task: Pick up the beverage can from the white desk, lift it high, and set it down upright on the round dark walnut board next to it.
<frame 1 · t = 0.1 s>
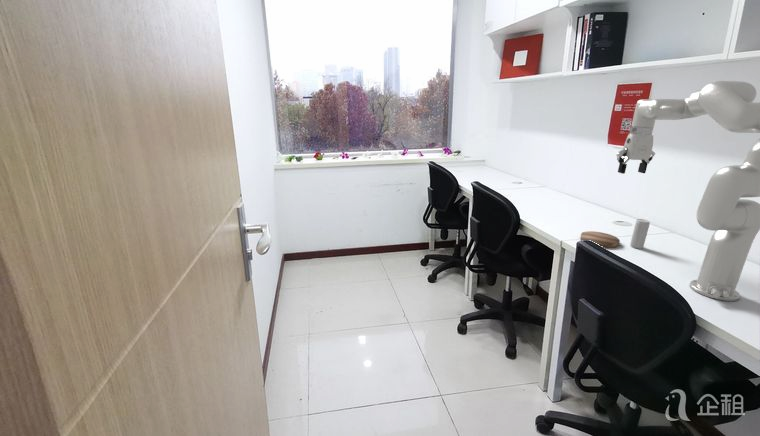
hand: (631, 172, 156), 31 cm above the table, tool pointing down, fingers open, 9 cm apart
beverage can: (636, 247, 160), on the table
walnut board: (599, 241, 165), on the table
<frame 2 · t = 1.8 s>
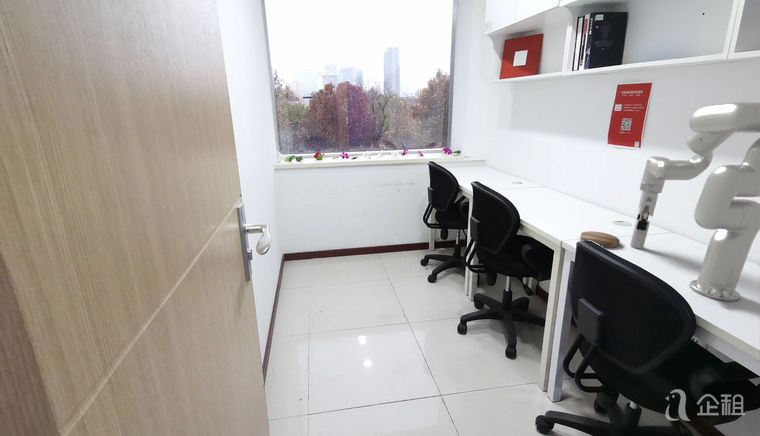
hand: (640, 226, 157), 9 cm above the table, tool pointing down, fingers open, 9 cm apart
nothing on the table moved.
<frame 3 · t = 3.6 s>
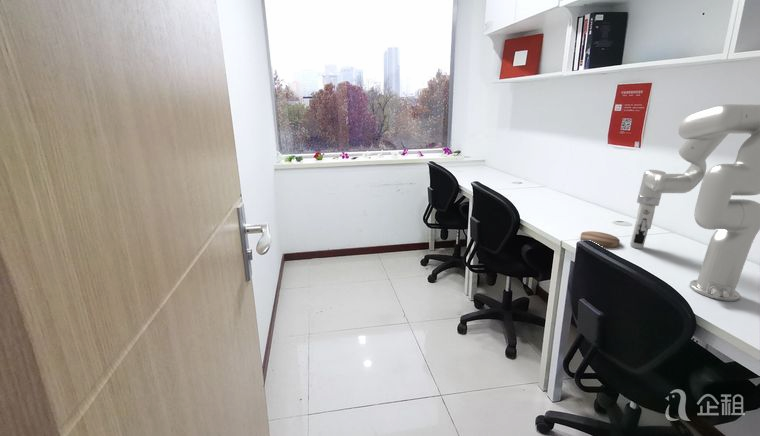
hand: (638, 240, 159), 3 cm above the table, tool pointing down, fingers closed on beverage can, 4 cm apart
beverage can: (636, 247, 160), on the table, touching gripper
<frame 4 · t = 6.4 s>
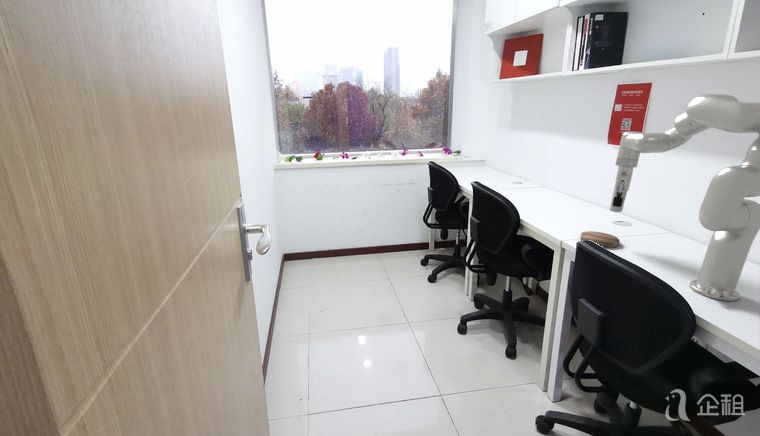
hand: (617, 204, 158), 18 cm above the table, tool pointing down, fingers closed on beverage can, 4 cm apart
beverage can: (615, 211, 159), point 15 cm above the table, touching gripper
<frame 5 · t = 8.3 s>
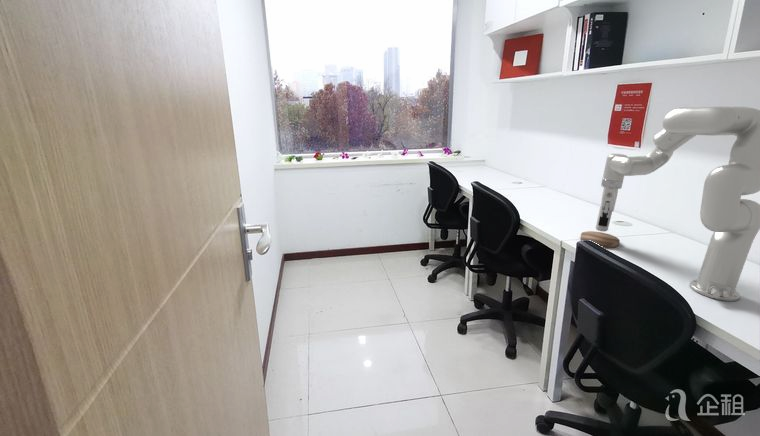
hand: (602, 223, 162), 8 cm above the table, tool pointing down, fingers closed on beverage can, 4 cm apart
beverage can: (601, 230, 163), point 5 cm above the table, touching gripper
when the fingers open (6 cm above the table, at t = 9.5 s): beverage can drops 1 cm, resting on walnut board.
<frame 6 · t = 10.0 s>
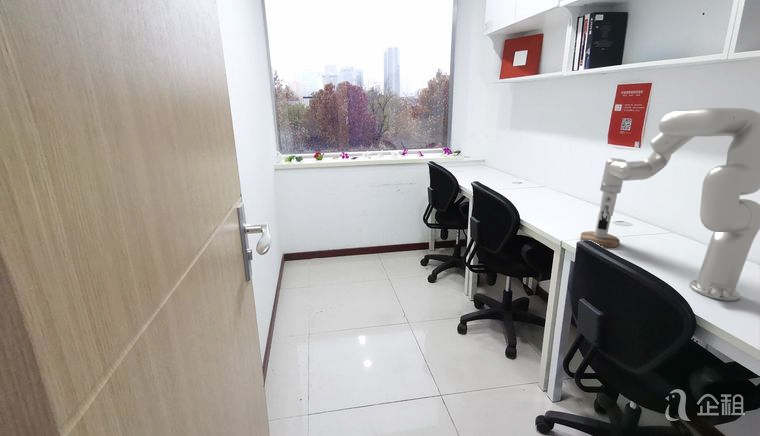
hand: (602, 226, 163), 7 cm above the table, tool pointing down, fingers open, 9 cm apart
beverage can: (600, 237, 164), point 2 cm above the table, touching walnut board
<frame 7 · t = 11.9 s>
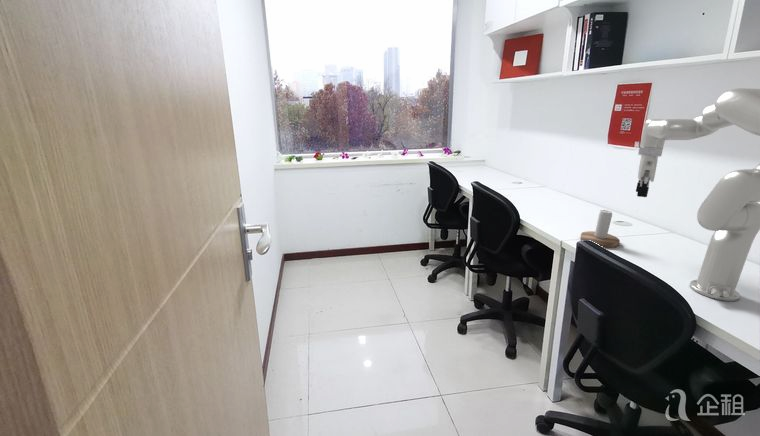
hand: (641, 194, 150), 24 cm above the table, tool pointing down, fingers open, 9 cm apart
nothing on the table moved.
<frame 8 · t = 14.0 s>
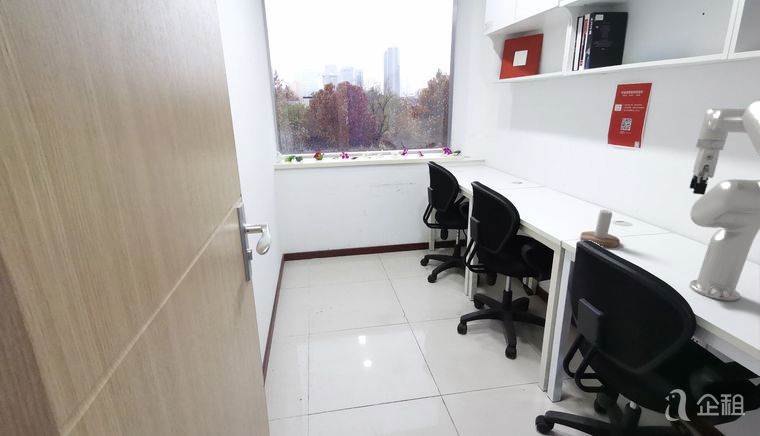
hand: (696, 191, 138), 28 cm above the table, tool pointing down, fingers open, 9 cm apart
nothing on the table moved.
at the end: beverage can inside the target area on the walnut board (0.2 cm from its centre), point 1.8 cm above the walnut board's base; beverage can tilted 0°; the gripper is holding nothing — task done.
